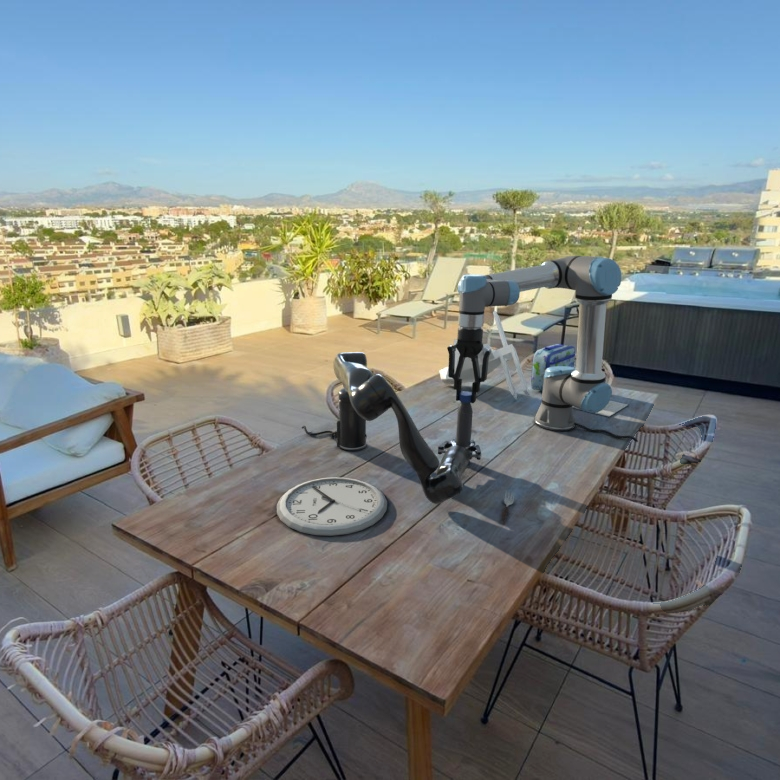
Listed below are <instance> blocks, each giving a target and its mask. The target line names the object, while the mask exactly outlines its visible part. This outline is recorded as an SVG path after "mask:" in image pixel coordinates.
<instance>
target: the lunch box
mask: <svg viewBox="0 0 780 780" xmlns="http://www.w3.org/2000/svg"><path fill="white" fill-rule="evenodd" d="M575 357H576V349H575V346H572V345H565V344H560V343H555V344H552V345H547V346H545V347H542V348H539V349H537V350H536V351H535V353H534V355H533V358H532V363H531V364H532V365H531V376H530V377H531V378H530V387H531V389H532V390H536V391H539V392H540V391H541V392H542V390H543V378H544V375H545V370H546V369H547V368H549V367H555V366H568V367H575V360H576V358H575Z"/></svg>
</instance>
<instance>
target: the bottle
mask: <svg viewBox="0 0 780 780" xmlns="http://www.w3.org/2000/svg"><path fill="white" fill-rule="evenodd" d="M473 413H474V412H473V406H472V403H471V402H470V403H464V402H461V401H460V404H459V406H458V408H457V416H456V417H457V418H456V435H455V437H456V445H458V446H462V447H464V446H466V445H467V444H468V445H469V444H470V442H471V440H472V430H473V429H472V428H473ZM469 464H470V461H469V462H468V465H469Z"/></svg>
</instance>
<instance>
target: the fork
mask: <svg viewBox="0 0 780 780" xmlns="http://www.w3.org/2000/svg"><path fill="white" fill-rule="evenodd" d="M515 492H516V491H511V493H510V490H509V491H508V490H506V491H505V495H504V499H503V503H504V504H505V505H506V506H505V508H504V509H503V510H502V517H501V524H503V523H504V521H505V519H506V517H507V515H508V509H509V506H511V505H513V504H514V501H515V500H514V499H515ZM507 494H508V495H507Z"/></svg>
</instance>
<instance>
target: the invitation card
mask: <svg viewBox="0 0 780 780" xmlns="http://www.w3.org/2000/svg"><path fill="white" fill-rule="evenodd" d="M628 406H629V404H627V403H623V402H618V401H614V400H610V401H609V403H608V404H607V405H606V407H605V408H604V409H603V410H601V411H599V412H597V413H595V414H596V415H600V416H604V417H608V418H609V417H611V416H613V415H614V414H616V413H617V412H619V411H621V410H623V409H624V408H626V407H628ZM573 409H575V410H581V409H579V408H576V407H574V406H573ZM581 411H582V410H581Z"/></svg>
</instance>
